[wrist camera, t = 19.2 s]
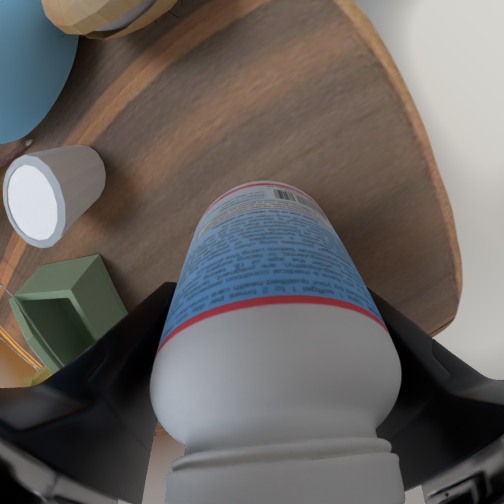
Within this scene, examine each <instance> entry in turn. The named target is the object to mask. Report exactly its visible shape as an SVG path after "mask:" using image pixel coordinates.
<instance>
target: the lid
mask: <svg viewBox="0 0 504 504" xmlns="http://www.w3.org/2000/svg"><path fill="white" fill-rule="evenodd" d="M9 302H10V305H11V308H12V310H13V313H14V315H15V317H16V320H17V322H18V324H19V327H20V329H21V331H22V333H23V336H24V338H25V340H26V342H27V343H28V345H29V346H30V347H31V349H32V350H33V351H34V352H35V354H36V355H37V356H38V357H39V359H40V360H41V361H42V362H43V364H44V366H43V367H42V368H41V369H40V370H39V371H38V372H37V373H35V374H34V375H33V376H32V377H31V376H27V377H25V378H24V379H23V380H22V382H21V385H20V386H21V387H30V386H34V385H37V384H39V383H41V382H43V381H44V380H45V379H46V378H48V377H49V376H50V375H51V374H54V373H56V372H57V371H58V370H60V369H61V368H62V367H63V366H62V365H61V363H60V362H59V361H58V360H57V358H56V357H55V356H54V355H53V353H52V352H51V351H50V349H49V348H48V347H47V345H46V344H45V343H44V341H43V340H42V339H41V337H40V336H39V334H38V333H37V332H36V330H35V329H34V327H33V326H32V324H31V323H30V321H29V320H28V318H27V317H26V315H25V314H24V312H23V310H22V309H21V307H20V306H19V304H18V302H17V301H16V299H15V297H14V296H13V297H12V298H10V299H9Z"/></svg>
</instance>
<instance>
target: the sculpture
mask: <svg viewBox="0 0 504 504" xmlns="http://www.w3.org/2000/svg"><path fill="white" fill-rule="evenodd" d="M177 1H178V0H41V3H42V6H43V9H44V12H45V15H46V17H47V18H48V19H49V20H50V21H51V22H52V23H53V24H54V25H53V26H56V27H58V28H59V29H60V30H62V31H63V32H64V33H66V34H76V35H82V36H84V35H85V36H86V37H87V38H89V39H103V40H105V39H113V38H120V37H123V36H125V35H127V34H129V33H131V32H134V31H136V30H138V29H141V28H143V27H145V26H147V25H149V24H151V23H152V22H153V21H156V19H157V18H159V17H160V16H161V15H163V14H164V13H165V12H167V11H168V12H169V13H171V12H170V11H169V10H170V9H171V8H172V6H173V5H174V4H175V3H176V2H177ZM181 2H182V0H181ZM182 8H183V7H182ZM171 14H172V13H171ZM172 15H174V14H172ZM174 16H175V15H174ZM176 17H177V16H176ZM178 18H179V17H178ZM156 23H157V22H156ZM66 34H65V35H66ZM63 36H64V35H63ZM82 36H81V37H82ZM60 37H62V36H60ZM81 37H80V38H81ZM77 39H79V38H77Z"/></svg>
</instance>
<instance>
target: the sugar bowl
mask: <svg viewBox="0 0 504 504" xmlns="http://www.w3.org/2000/svg"><path fill="white" fill-rule="evenodd" d="M53 25H54V24H53V23H52V22H51V21H50V20H49V19H48V18H47V17H46V15H45V12H44V9H43V6H42V3H41V0H0V144H6V143H10V142H13V141H17V140H19V139H21V138H23V137H24V136H26V135H27V134H28V133H30V132H31V131H32V130H33V129H34V128H35V127H36V126H37V125H38V124H39V123H40V122H41V121H42V120H43V119H44V117H45V116H46V115H47V113H48V112H49V111H50V109H51V108H52V106H53V104H54V103H55V101H56V100H57V98H58V96H59V94H60V92H61V91H62V89H63V87H64V85H65V82H66V80H67V78H68V76H69V73H70V71H71V68H72V65H73V62H74V59H75V55H76V50H77V45H78V39H77V38H79V35H76V34H66V33H64V32H63V31H62V30H60V29H59V28H58V27H56V26H53ZM65 34H66V35H65ZM63 35H64V36H63ZM60 36H62V37H60Z"/></svg>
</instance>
